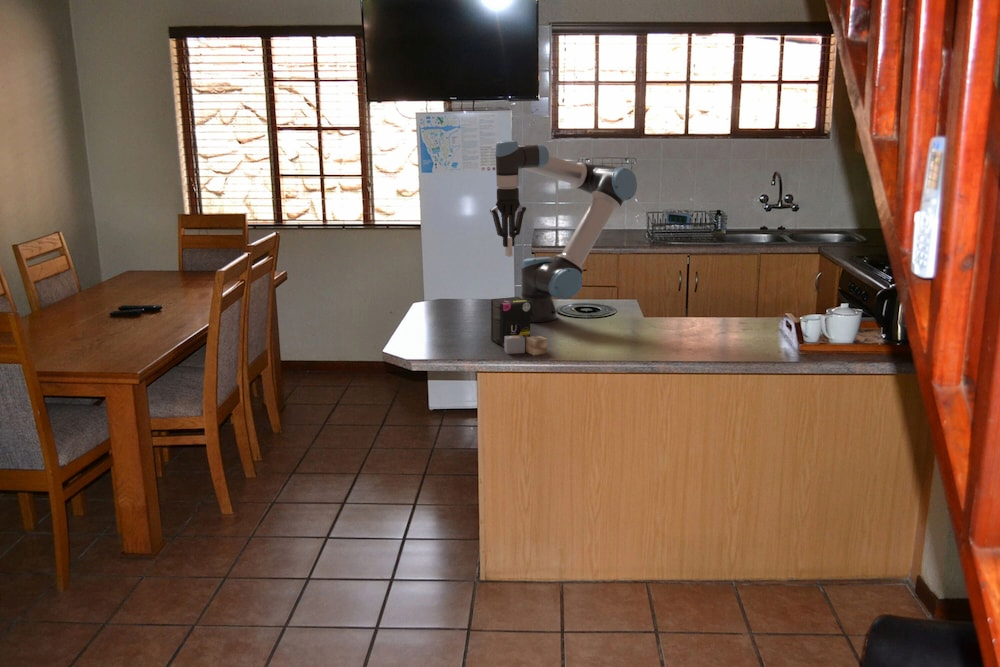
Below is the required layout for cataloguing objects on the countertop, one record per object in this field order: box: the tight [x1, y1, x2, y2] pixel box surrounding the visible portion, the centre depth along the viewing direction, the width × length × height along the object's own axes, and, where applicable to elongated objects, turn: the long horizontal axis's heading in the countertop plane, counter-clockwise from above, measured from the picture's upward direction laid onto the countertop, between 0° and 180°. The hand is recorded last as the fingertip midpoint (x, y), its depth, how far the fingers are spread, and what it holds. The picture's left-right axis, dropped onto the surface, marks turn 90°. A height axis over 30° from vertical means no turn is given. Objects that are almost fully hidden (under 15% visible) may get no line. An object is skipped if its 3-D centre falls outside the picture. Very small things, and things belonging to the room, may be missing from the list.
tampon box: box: [490, 296, 531, 347], centre depth 304 cm, size 11×9×15 cm
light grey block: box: [503, 335, 526, 355], centre depth 293 cm, size 6×4×5 cm, turn 101°
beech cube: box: [525, 335, 548, 356], centre depth 292 cm, size 5×5×5 cm
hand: (508, 255), depth 309 cm, fingers closed
